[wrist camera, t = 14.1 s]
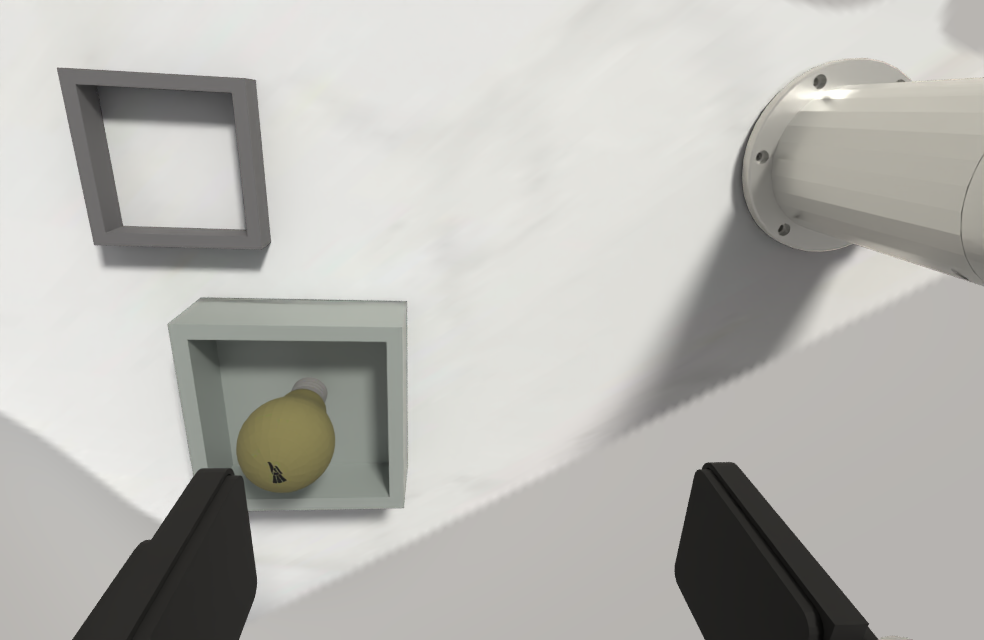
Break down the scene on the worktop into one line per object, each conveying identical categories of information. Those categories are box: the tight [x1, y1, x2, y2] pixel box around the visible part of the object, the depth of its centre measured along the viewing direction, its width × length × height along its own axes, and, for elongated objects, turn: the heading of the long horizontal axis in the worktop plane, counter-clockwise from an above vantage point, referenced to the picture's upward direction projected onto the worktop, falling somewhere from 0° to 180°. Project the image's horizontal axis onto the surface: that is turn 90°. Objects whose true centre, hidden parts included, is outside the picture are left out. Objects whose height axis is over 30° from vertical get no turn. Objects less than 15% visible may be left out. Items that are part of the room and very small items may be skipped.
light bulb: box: [236, 377, 335, 493], centre depth 35 cm, size 6×6×10 cm
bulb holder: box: [57, 68, 271, 250], centre depth 34 cm, size 10×10×2 cm
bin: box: [168, 298, 408, 511], centre depth 39 cm, size 14×14×5 cm
